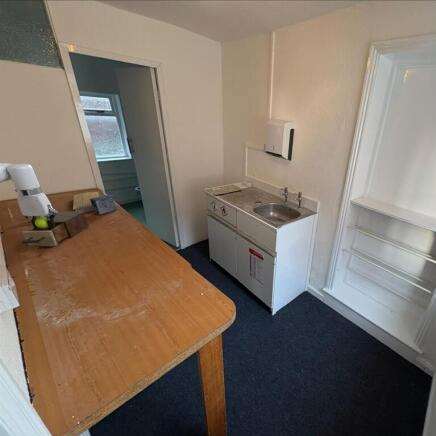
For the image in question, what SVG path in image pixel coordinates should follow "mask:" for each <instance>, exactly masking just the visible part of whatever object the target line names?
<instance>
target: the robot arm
mask: <svg viewBox="0 0 436 436" xmlns="http://www.w3.org/2000/svg"><path fill="white" fill-rule="evenodd" d="M8 181H12V183H13V185H14V187H15V189H14V192H16V193H17V194H18V195H16V200H17V204H18V207H19V210H20V212H19V215H20V216H22V217H24V218H25V219H27V220H28V221H29V222H31V224H32V228H38V227H37V226H36V225H35V220H36V219H37V217H39V216H44V217H45V218H46V219H47V221H46V222H47V224H48V226H49V228H52V227H54V226H55V222H54V220H53V218H54V217H55V216H56V215H57V214H58V211H57V209H55V208H54V207H53V206H52V203H51V201H50V200H49V198H48V196H47V195H46V193H44V192H43V190H42V187H41V185H40V182H39V180H38V178H37V175H36V173H35V170H34V168H33V166H32V165H31V164H30V163H9V162H0V184H1V183H4V182H8ZM48 215H49V216H48Z"/></svg>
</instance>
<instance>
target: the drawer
mask: <svg viewBox="0 0 436 436" xmlns="http://www.w3.org/2000/svg"><path fill="white" fill-rule="evenodd" d="M21 234H22V236H23V238H24V240H22V241H21V243H22V244H26V245H27V246H29V247H30V246H38V247H56V246H58V245H59V244H58V243H60V242H61V241H63V240H65V239H67V238H66V237H67V236H69V234H68V232H67V229H66V226H65V224H64V223H55V226H54V227H52V228H49V227H47V228H39V227H38V228H34V227H32V228H30V229H27V230H23V231H21Z"/></svg>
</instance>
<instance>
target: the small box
mask: <svg viewBox="0 0 436 436" xmlns="http://www.w3.org/2000/svg"><path fill="white" fill-rule="evenodd" d="M90 201H91V204H92V207H93V210H94V211H93V213H94V214H95V215H98V216H102V215H106V214H109V213H112V212H115V211H117V207H116V204H115V201H114V197H113V195H110V194H104V195H99V197H94V198H91V199H90Z"/></svg>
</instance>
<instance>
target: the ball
mask: <svg viewBox="0 0 436 436" xmlns="http://www.w3.org/2000/svg"><path fill="white" fill-rule="evenodd" d="M46 221H47V219H46V218H45V217H39V216H38V218H37V217H36V220H35V225H36V226H37V227H39V228H47V227H49V226H48V224H47V222H46Z"/></svg>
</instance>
